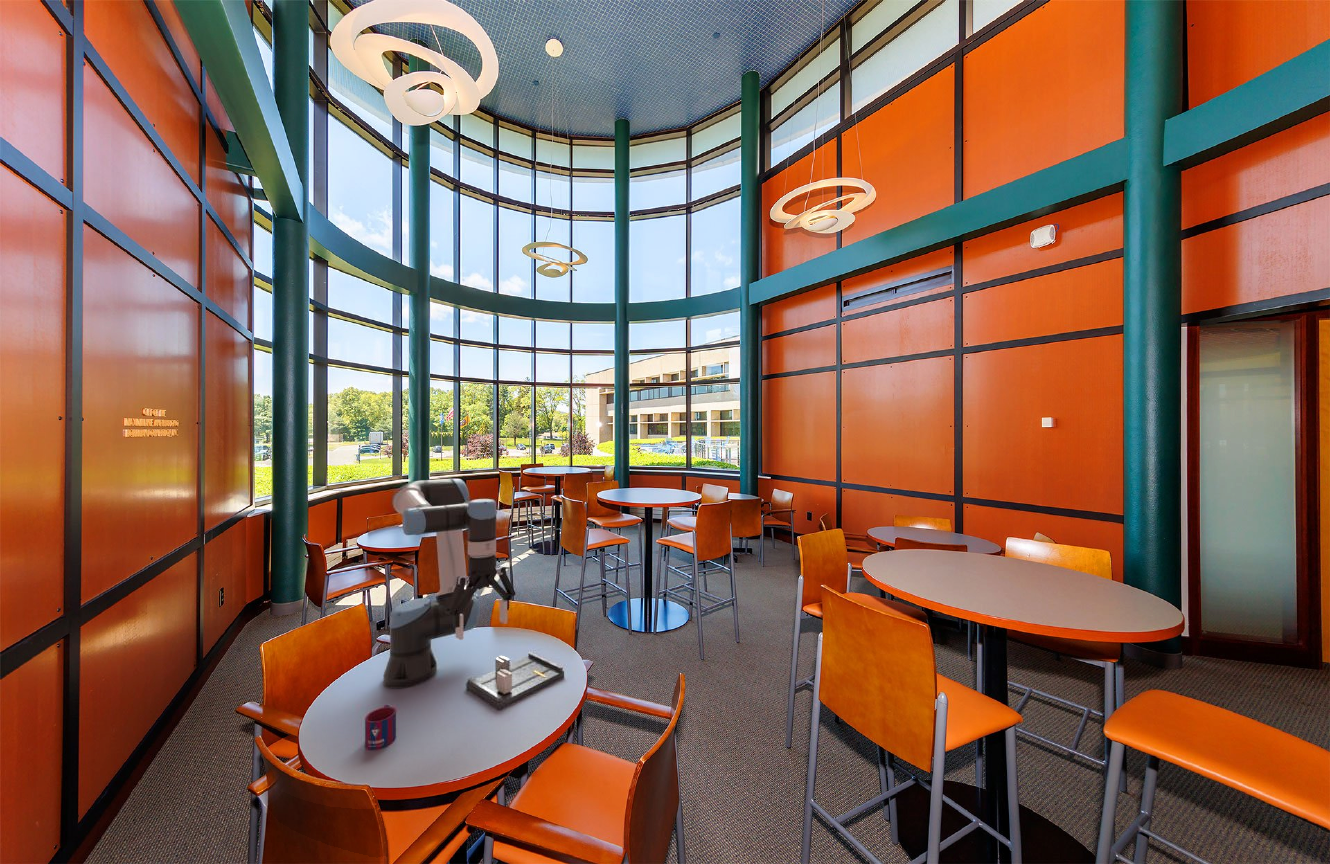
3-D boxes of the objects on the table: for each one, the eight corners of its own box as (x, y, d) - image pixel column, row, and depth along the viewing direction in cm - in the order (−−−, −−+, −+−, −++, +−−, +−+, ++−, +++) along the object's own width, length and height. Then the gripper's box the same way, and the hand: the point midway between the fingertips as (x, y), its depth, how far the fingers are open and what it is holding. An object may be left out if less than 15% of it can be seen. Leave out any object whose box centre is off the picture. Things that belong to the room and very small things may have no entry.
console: (466, 689, 141) (466, 664, 141) (530, 660, 159) (530, 639, 159) (499, 710, 130) (498, 683, 130) (564, 677, 148) (564, 653, 148)
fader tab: (496, 689, 137) (496, 670, 137) (504, 685, 139) (504, 667, 139) (504, 693, 134) (504, 675, 134) (512, 690, 136) (511, 671, 136)
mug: (360, 751, 113) (360, 723, 114) (377, 726, 123) (377, 701, 123) (390, 747, 115) (390, 720, 115) (404, 723, 125) (404, 698, 125)
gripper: (445, 566, 119) (445, 649, 119) (527, 547, 139) (527, 619, 139) (431, 561, 124) (431, 641, 124) (512, 544, 143) (512, 613, 143)
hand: (482, 629), depth 131 cm, fingers open, 13 cm apart
